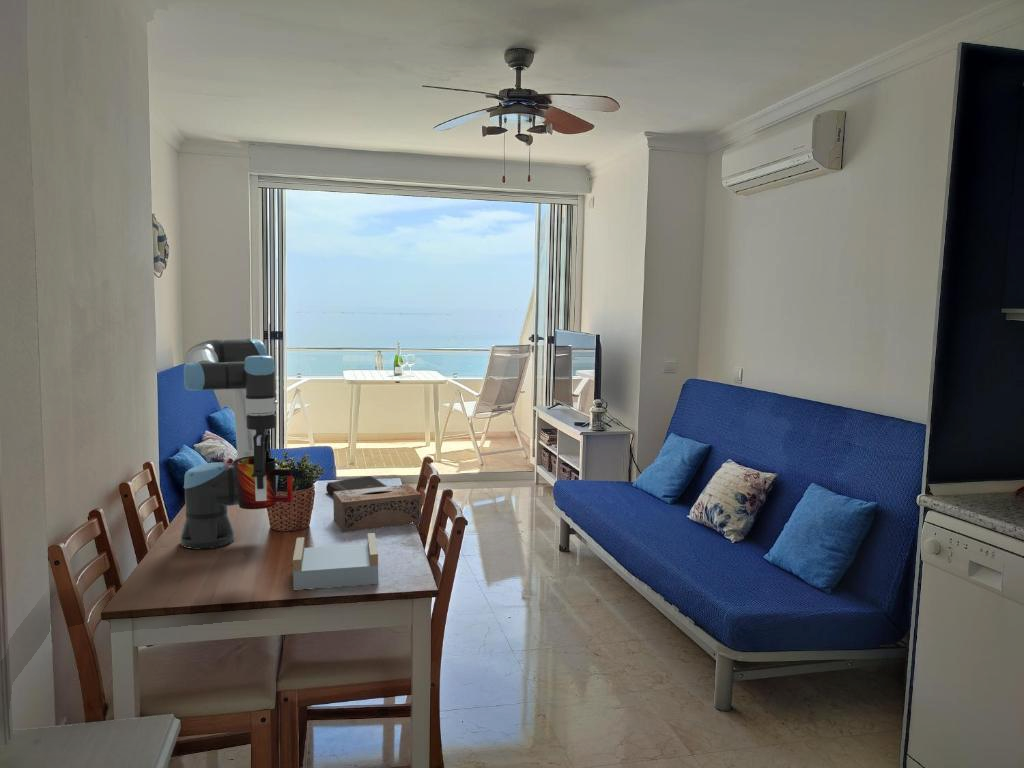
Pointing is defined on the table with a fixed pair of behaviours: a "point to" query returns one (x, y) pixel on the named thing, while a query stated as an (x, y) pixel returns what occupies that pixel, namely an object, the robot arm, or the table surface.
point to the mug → (248, 484)
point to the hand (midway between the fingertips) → (263, 495)
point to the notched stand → (335, 565)
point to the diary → (353, 484)
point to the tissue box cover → (376, 507)
